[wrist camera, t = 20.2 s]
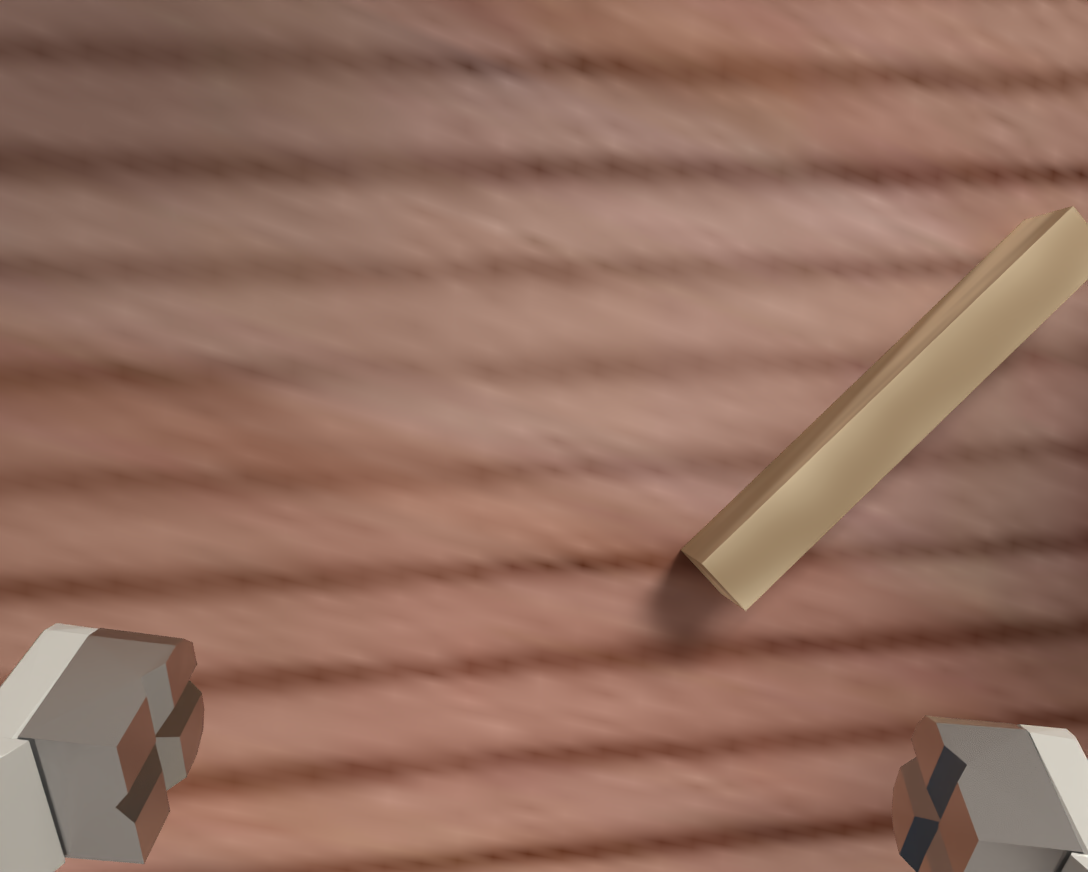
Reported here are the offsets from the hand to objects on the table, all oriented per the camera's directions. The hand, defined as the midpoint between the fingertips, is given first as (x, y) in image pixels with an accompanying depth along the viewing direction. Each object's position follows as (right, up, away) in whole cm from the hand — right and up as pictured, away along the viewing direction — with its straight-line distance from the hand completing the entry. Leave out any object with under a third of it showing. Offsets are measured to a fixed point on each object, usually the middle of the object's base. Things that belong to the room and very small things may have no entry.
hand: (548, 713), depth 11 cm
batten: (+13, +4, +27) cm, 30 cm away
